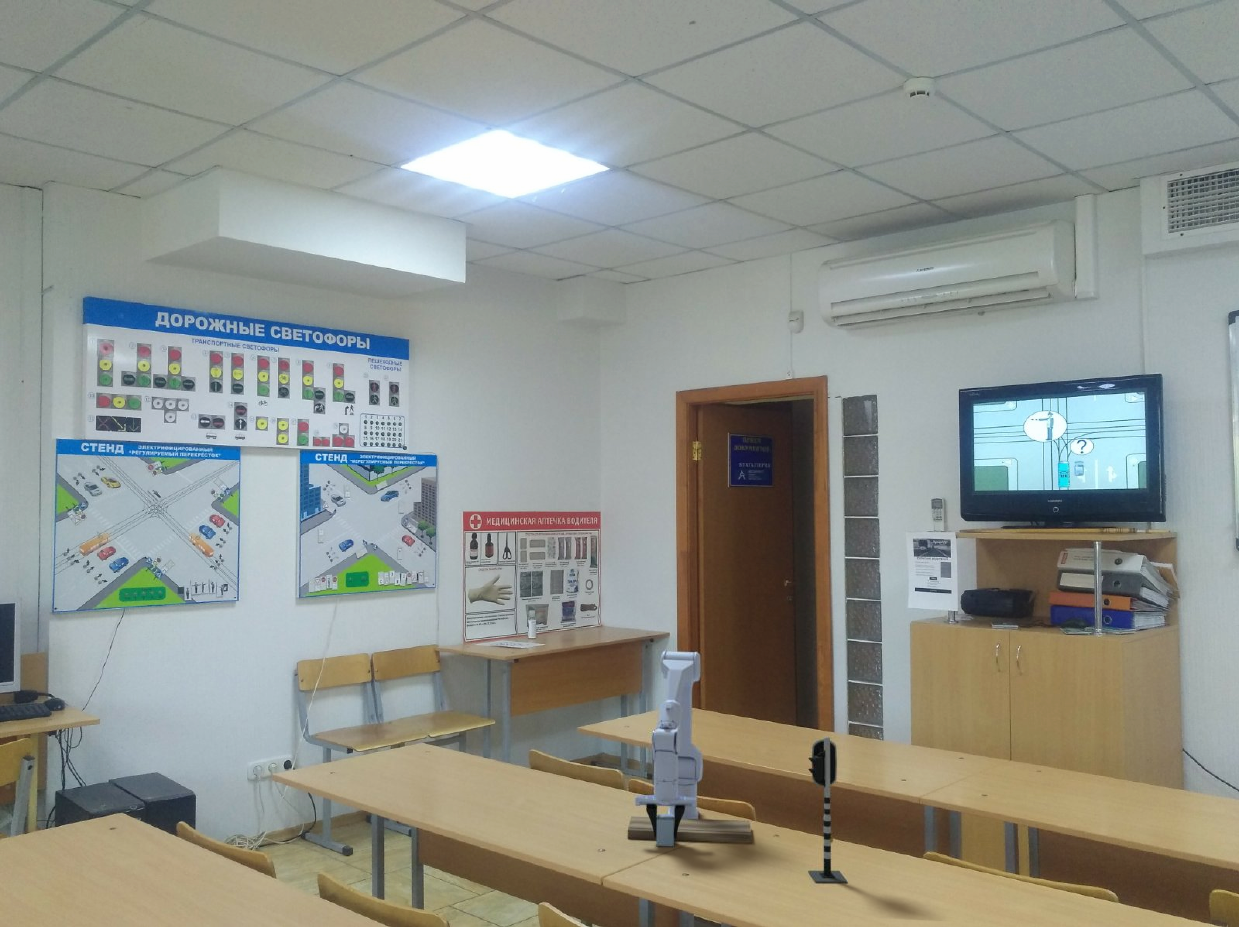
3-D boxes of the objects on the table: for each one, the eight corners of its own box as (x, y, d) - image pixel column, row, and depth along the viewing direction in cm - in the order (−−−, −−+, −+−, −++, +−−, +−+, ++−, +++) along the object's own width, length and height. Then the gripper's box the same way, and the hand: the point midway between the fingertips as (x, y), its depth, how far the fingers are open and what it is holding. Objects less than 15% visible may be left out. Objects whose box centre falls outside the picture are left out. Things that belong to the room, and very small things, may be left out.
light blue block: (658, 835, 246) (658, 810, 246) (674, 836, 246) (674, 811, 246) (656, 845, 238) (656, 819, 239) (673, 846, 238) (673, 820, 238)
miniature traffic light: (838, 871, 222) (838, 733, 224) (847, 883, 214) (846, 740, 217) (805, 871, 222) (805, 733, 224) (812, 882, 214) (812, 740, 216)
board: (631, 824, 256) (631, 816, 256) (749, 828, 253) (749, 820, 254) (627, 838, 244) (627, 829, 244) (751, 843, 242) (751, 834, 242)
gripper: (634, 781, 238) (634, 840, 237) (695, 784, 237) (695, 842, 236) (636, 775, 245) (636, 831, 244) (696, 777, 244) (695, 834, 243)
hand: (665, 836), depth 240 cm, fingers closed on light blue block, 4 cm apart
